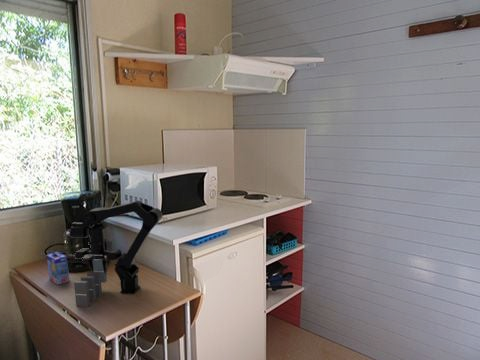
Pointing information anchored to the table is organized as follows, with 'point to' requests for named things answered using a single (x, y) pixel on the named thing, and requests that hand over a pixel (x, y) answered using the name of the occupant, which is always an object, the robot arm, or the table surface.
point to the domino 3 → (99, 269)
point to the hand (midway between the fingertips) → (100, 272)
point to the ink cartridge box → (58, 267)
